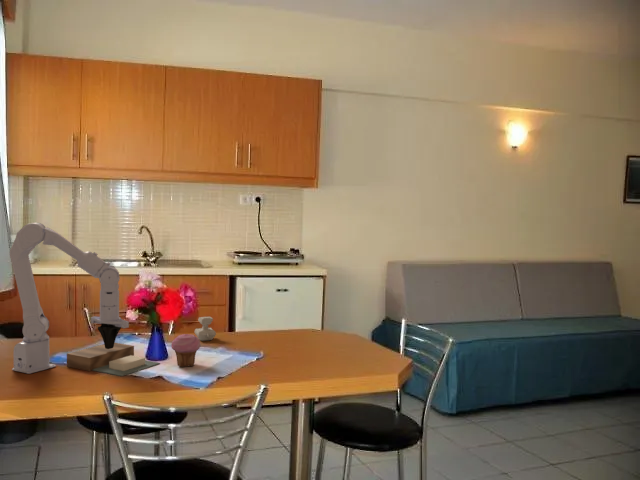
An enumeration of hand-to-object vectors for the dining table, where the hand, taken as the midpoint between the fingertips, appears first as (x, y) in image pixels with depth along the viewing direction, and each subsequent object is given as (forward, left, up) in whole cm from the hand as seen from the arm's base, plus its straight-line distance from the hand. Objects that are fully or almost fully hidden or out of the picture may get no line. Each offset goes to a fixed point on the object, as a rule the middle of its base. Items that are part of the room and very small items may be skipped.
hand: (109, 348), depth 187 cm
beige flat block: (0, -8, -3) cm, 8 cm away
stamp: (+42, -4, -5) cm, 43 cm away
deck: (0, +4, -5) cm, 6 cm away
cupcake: (+11, -21, -5) cm, 25 cm away
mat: (0, -7, -5) cm, 9 cm away
